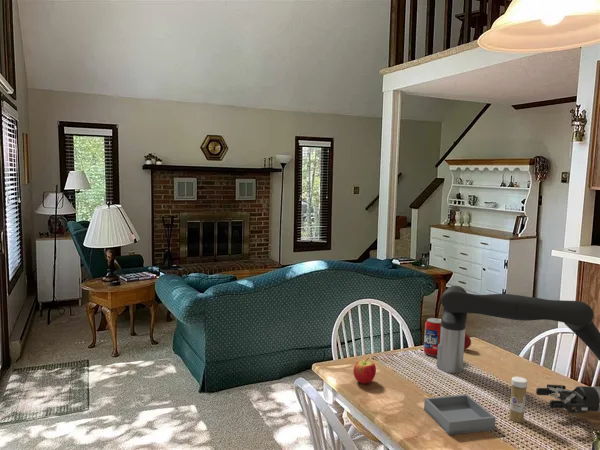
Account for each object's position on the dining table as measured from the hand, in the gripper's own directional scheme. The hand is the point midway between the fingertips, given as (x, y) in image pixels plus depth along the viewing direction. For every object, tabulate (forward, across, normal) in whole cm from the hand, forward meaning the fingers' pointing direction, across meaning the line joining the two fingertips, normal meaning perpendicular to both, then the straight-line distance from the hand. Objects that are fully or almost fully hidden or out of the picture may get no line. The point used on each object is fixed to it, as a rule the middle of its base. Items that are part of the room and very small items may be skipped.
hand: (543, 397), depth 155 cm
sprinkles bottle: (+8, 0, +8) cm, 11 cm away
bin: (+27, +1, +8) cm, 28 cm away
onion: (+5, -60, +8) cm, 60 cm away
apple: (+54, -25, +8) cm, 60 cm away
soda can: (+20, -54, +8) cm, 58 cm away
